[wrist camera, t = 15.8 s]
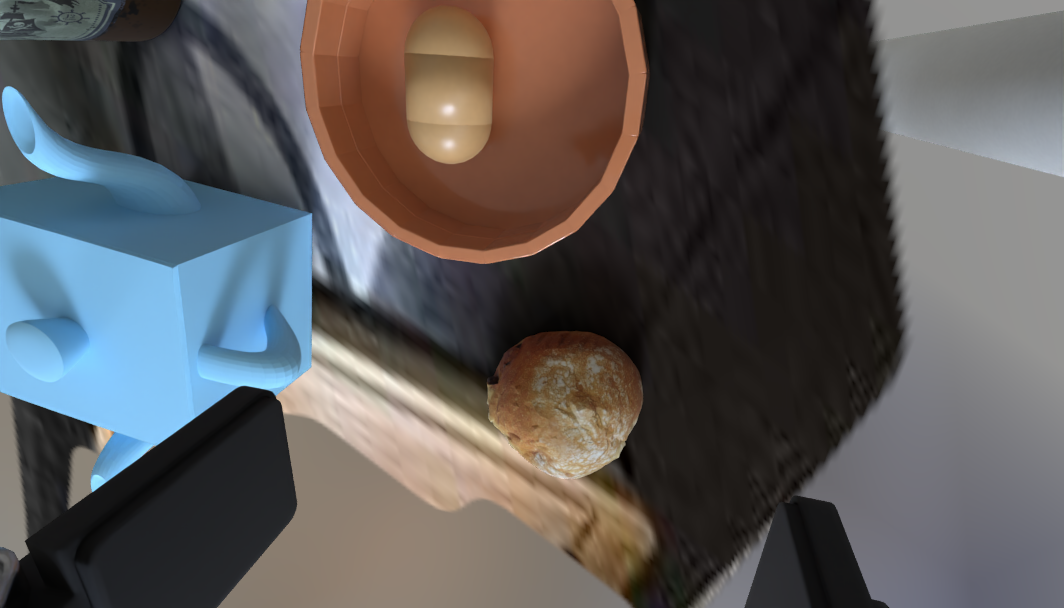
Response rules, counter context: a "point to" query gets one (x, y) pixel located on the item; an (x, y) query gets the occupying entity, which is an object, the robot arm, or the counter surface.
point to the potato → (449, 84)
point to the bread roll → (565, 401)
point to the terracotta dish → (517, 120)
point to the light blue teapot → (142, 291)
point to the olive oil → (86, 19)
